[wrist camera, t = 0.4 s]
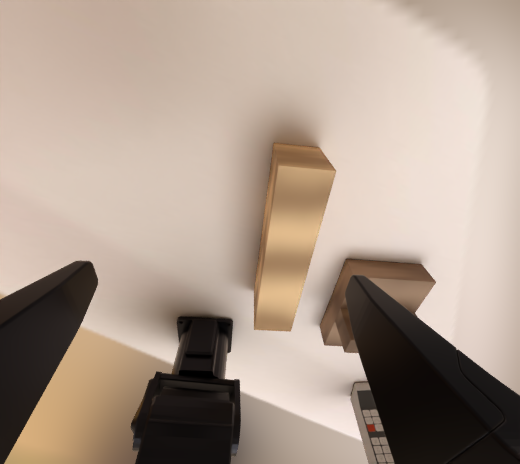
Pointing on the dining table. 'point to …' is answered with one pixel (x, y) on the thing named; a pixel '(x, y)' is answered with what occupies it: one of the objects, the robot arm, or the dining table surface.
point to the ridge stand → (384, 276)
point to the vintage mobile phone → (370, 425)
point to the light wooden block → (289, 231)
